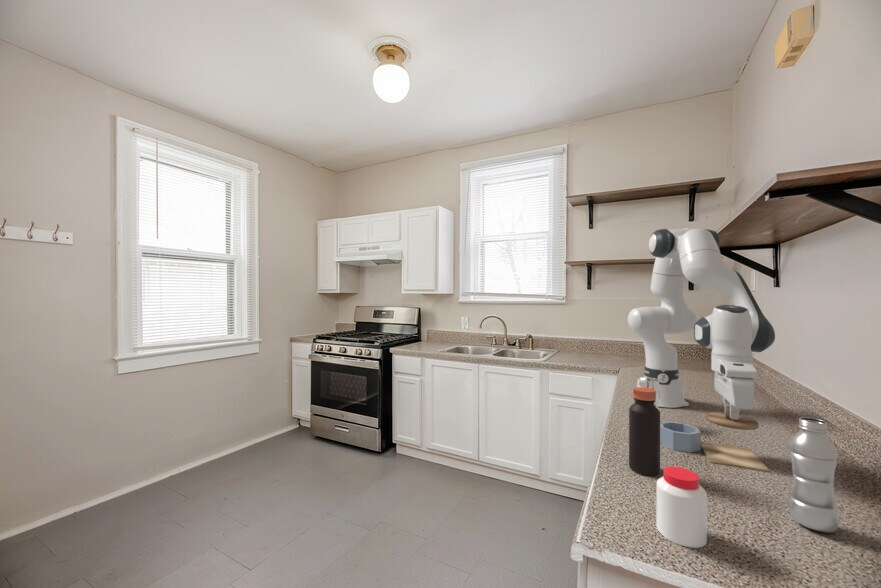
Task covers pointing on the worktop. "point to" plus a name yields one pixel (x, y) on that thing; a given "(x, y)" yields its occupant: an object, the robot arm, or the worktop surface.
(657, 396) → the beer glass
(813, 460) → the plastic bottle
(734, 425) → the lid
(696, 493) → the pill bottle
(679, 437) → the bowl
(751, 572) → the worktop surface
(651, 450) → the vinegar
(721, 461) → the tan flat square piece
